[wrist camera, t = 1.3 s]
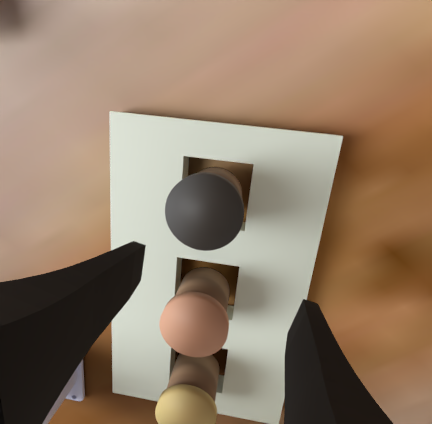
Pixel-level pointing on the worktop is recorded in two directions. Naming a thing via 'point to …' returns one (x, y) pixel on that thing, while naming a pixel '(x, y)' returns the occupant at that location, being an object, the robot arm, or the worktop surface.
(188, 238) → the plug black
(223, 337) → the plug terracotta
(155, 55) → the worktop surface
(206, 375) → the plug brass
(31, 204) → the worktop surface
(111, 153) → the socket board
